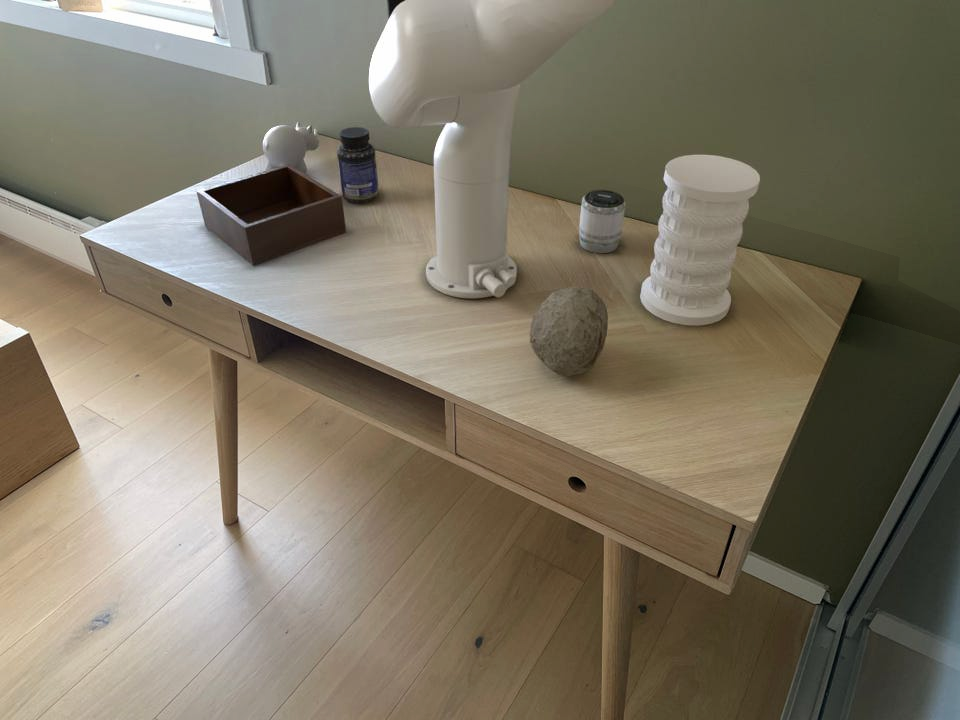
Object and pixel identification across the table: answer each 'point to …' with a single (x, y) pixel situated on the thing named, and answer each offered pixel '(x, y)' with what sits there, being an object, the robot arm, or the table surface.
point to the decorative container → (698, 238)
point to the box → (272, 213)
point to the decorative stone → (570, 330)
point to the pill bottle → (357, 166)
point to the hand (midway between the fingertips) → (415, 29)
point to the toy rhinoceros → (289, 146)
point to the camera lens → (601, 221)
